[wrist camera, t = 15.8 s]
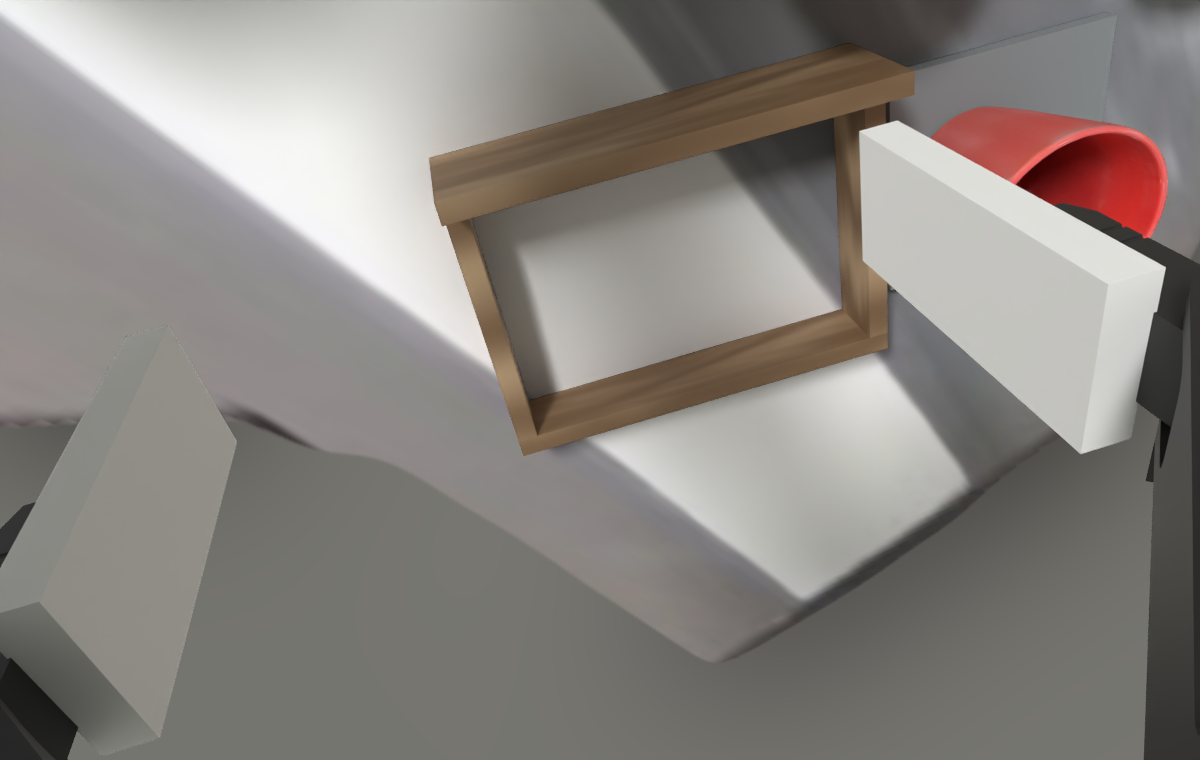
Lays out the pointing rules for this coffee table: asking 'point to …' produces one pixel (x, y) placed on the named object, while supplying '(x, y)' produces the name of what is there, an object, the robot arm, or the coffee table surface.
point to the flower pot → (1066, 160)
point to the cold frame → (653, 138)
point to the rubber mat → (1016, 77)
